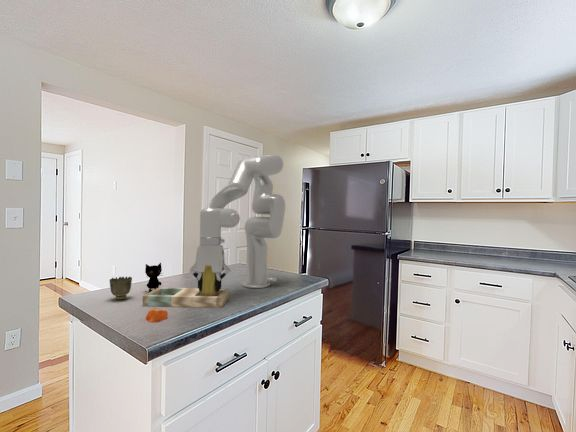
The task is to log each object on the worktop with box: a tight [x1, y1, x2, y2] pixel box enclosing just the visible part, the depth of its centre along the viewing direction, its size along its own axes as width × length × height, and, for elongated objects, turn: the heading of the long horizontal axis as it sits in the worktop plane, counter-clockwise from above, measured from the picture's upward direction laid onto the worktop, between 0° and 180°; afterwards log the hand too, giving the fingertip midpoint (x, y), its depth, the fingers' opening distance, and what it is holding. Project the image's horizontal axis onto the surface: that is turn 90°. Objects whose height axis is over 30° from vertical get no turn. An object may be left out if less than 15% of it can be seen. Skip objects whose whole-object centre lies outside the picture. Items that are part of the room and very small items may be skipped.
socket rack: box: [142, 286, 230, 309], centre depth 109 cm, size 28×12×4 cm, turn 89°
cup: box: [109, 276, 133, 301], centre depth 110 cm, size 8×7×8 cm
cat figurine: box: [144, 262, 164, 293], centre depth 121 cm, size 7×7×12 cm
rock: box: [145, 307, 169, 323], centre depth 92 cm, size 12×12×4 cm
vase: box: [201, 265, 217, 296], centre depth 109 cm, size 6×6×14 cm
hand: (209, 290), depth 109 cm, fingers closed on vase, 5 cm apart
